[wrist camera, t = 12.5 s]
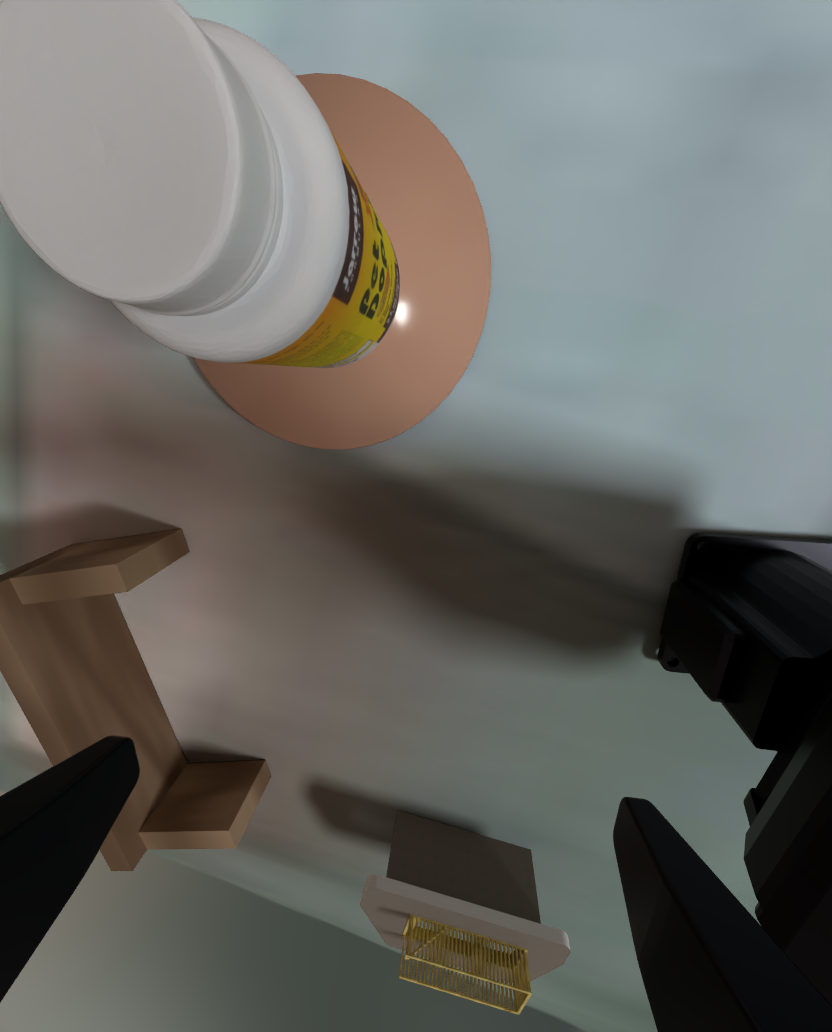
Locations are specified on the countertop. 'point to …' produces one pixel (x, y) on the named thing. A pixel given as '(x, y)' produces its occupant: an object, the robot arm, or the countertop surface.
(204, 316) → the supplement bottle
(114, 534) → the countertop surface
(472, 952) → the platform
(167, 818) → the open wooden frame
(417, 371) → the terracotta saucer
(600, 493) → the countertop surface
